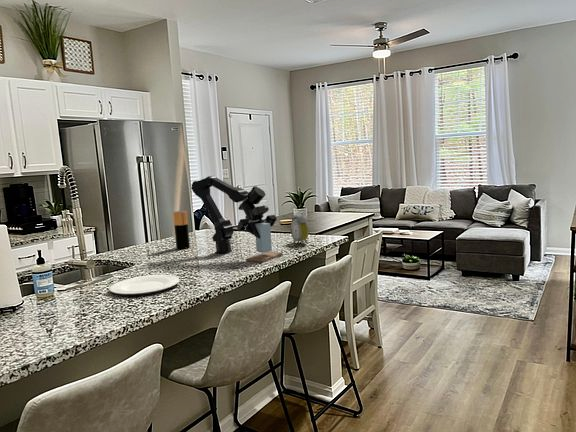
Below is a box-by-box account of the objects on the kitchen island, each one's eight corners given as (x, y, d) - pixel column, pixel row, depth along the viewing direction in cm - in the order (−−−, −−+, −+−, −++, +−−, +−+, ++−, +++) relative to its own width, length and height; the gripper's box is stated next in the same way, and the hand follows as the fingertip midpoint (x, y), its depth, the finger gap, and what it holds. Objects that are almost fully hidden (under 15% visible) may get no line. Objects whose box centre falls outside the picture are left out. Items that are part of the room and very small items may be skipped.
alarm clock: (290, 242, 241) (289, 214, 240) (302, 240, 244) (300, 213, 242) (300, 245, 231) (299, 216, 229) (312, 244, 234) (311, 215, 232)
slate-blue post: (256, 251, 207) (254, 224, 205) (265, 249, 209) (264, 222, 208) (262, 252, 203) (260, 225, 201) (271, 251, 205) (270, 223, 204)
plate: (125, 280, 181) (124, 276, 181) (187, 277, 180) (187, 273, 180) (97, 300, 156) (96, 295, 156) (169, 296, 155) (168, 291, 155)
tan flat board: (262, 262, 197) (262, 260, 197) (246, 261, 202) (245, 258, 202) (282, 255, 210) (282, 252, 210) (266, 253, 215) (266, 251, 215)
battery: (192, 248, 242) (188, 210, 239) (179, 250, 238) (175, 212, 235) (186, 246, 248) (183, 209, 245) (174, 248, 244) (171, 211, 241)
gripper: (238, 201, 201) (252, 228, 193) (273, 197, 211) (288, 223, 204) (231, 217, 208) (244, 244, 201) (265, 213, 219) (279, 238, 211)
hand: (264, 237), depth 204 cm, fingers closed on slate-blue post, 5 cm apart
